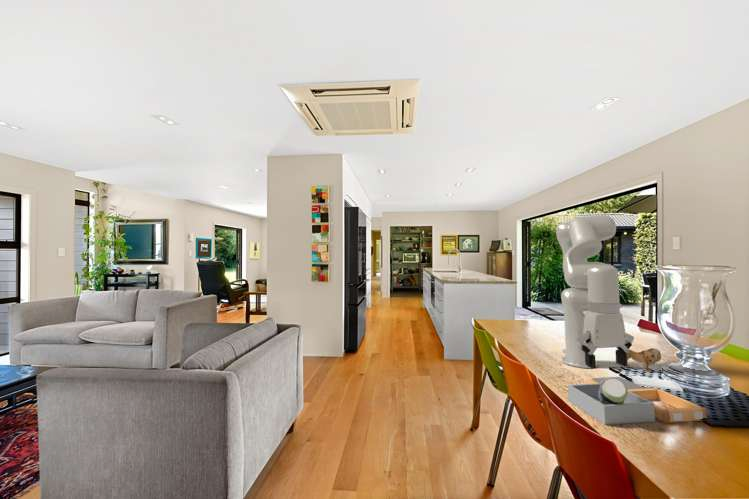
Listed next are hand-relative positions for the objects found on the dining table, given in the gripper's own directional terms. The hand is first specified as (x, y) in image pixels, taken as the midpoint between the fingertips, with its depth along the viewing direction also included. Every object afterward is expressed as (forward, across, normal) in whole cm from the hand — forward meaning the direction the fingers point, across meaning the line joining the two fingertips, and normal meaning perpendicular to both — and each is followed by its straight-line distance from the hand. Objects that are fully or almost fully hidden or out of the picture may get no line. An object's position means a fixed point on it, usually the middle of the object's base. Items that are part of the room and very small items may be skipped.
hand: (606, 365), depth 93 cm
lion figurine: (+14, -39, -29) cm, 51 cm away
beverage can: (+11, -1, 0) cm, 11 cm away
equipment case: (+13, -15, -5) cm, 21 cm away
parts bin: (+13, 0, +1) cm, 13 cm away
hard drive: (+14, -30, -14) cm, 36 cm away
